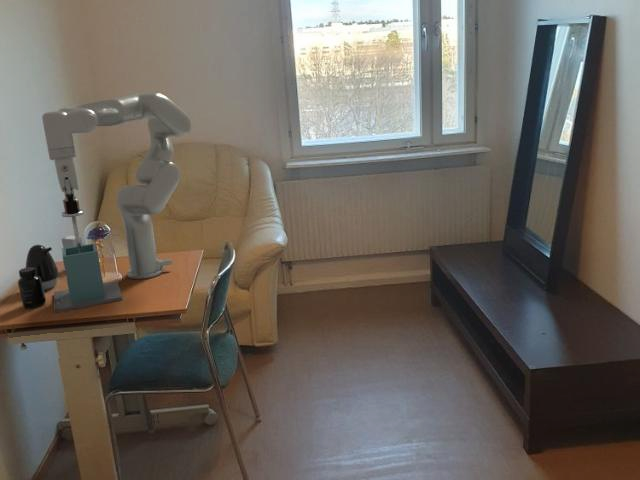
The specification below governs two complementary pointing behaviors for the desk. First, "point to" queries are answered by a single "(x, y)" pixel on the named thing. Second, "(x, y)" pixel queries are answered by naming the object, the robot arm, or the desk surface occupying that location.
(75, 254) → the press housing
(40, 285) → the supplement bottle
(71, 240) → the skincare box
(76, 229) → the plunger
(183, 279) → the desk surface
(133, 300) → the desk surface
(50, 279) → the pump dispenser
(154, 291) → the desk surface
